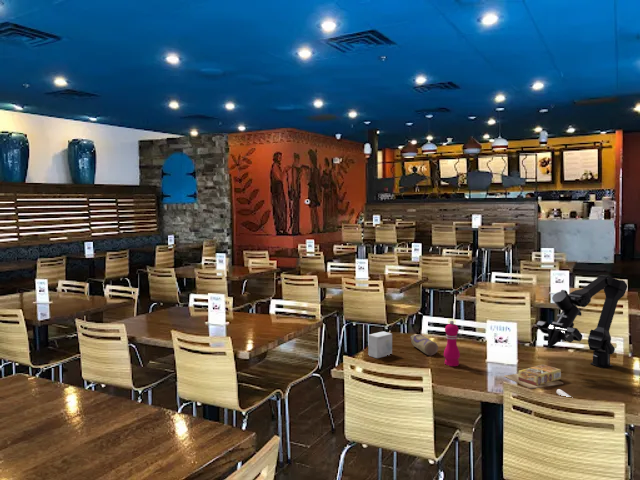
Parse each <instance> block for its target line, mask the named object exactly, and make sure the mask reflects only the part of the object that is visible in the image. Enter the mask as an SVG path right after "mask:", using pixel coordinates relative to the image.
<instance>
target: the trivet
mask: <svg viewBox="0 0 640 480" xmlns="http://www.w3.org/2000/svg"><path fill="white" fill-rule="evenodd" d="M503 376H504V378H506V379H509V380H511V381H513V382H515V383H517V384H520V385H521V386H523V387H525V388H528V389H530V390H531V389H538V388H544V387H545V388H546V387H553V386H559V385H564V382H562V381H560V380H559V379H558V380H555V381H552V382H548V383H545V384H541V385H538V386H536V385H533V384H530V383H527V382H523V381H520V380H518V373H513V374H507V375H503Z"/></svg>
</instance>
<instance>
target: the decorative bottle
mask: <svg viewBox="0 0 640 480" xmlns="http://www.w3.org/2000/svg"><path fill="white" fill-rule="evenodd" d="M410 340H411V344H412V346H414V347H415V348H416V349H418V350H420V351H421V352H422V353H424V354H425V355H426V356H434V355H435V354H436V353H438V350H439V346H438V344H437V343H436V342H435V341H433V340H431V339H429V338H427V336H425V335H423V334H415V335H414V334H412V335H411V336H410Z"/></svg>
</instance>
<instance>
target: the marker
mask: <svg viewBox="0 0 640 480" xmlns="http://www.w3.org/2000/svg"><path fill="white" fill-rule="evenodd" d="M556 394H557V395H559V396H560V395H561V396H566V397H572V396H571V395H570V394H569V393H567V392H565V391H564V390H562V389H560V388H558V389H556ZM561 396H560V397H561Z"/></svg>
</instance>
